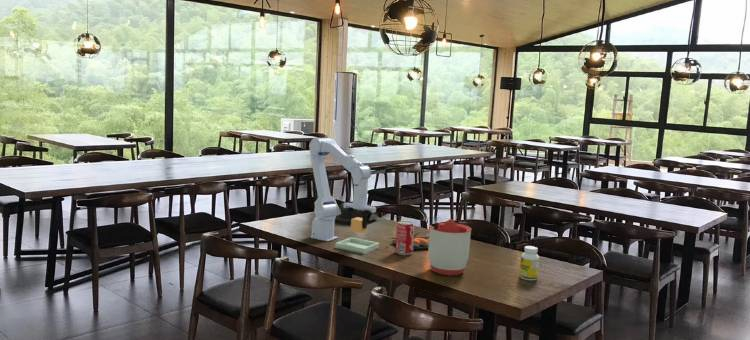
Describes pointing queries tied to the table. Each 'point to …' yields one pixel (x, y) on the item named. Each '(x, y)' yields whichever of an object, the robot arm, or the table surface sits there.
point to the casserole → (345, 217)
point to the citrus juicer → (449, 247)
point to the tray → (357, 245)
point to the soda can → (404, 238)
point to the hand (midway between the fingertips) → (358, 227)
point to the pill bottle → (529, 263)
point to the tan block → (357, 225)
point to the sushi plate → (418, 242)
